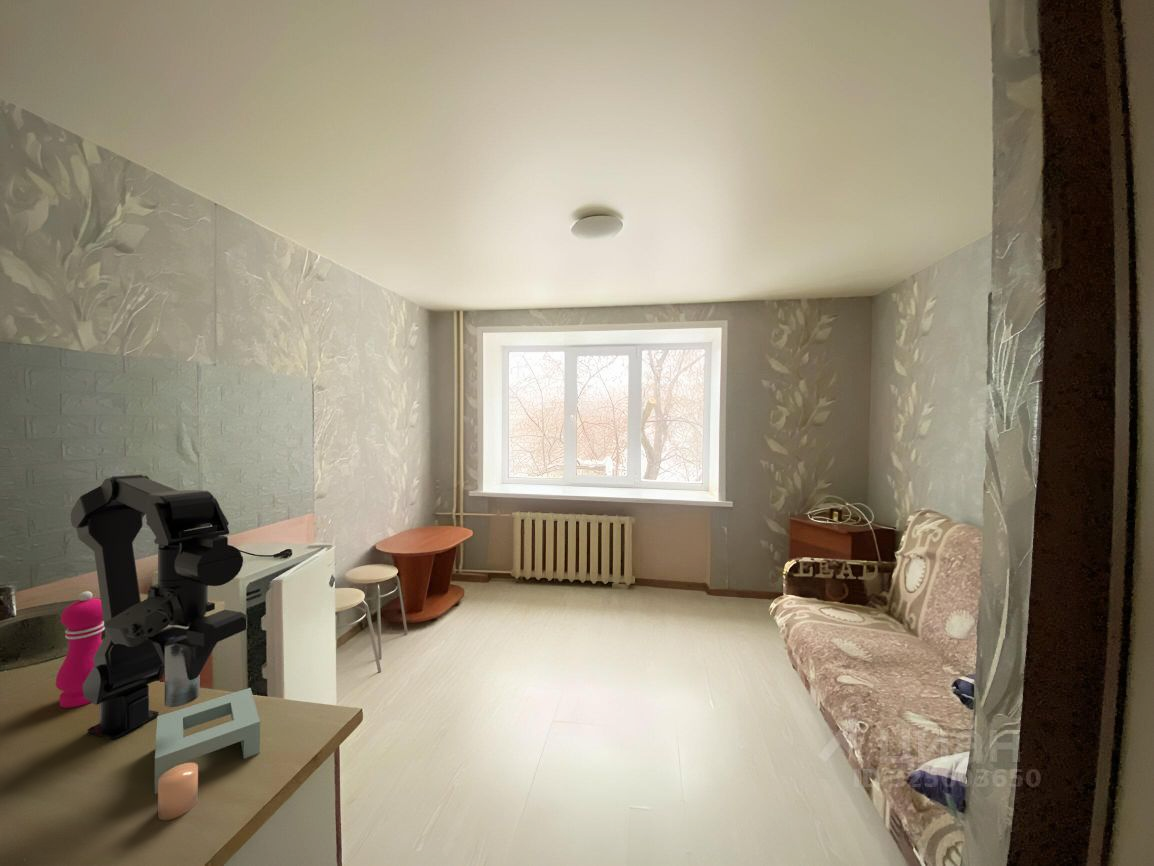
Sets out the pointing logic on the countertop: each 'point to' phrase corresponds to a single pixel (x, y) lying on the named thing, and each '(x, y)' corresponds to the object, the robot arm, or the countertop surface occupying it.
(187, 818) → the countertop surface
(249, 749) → the slate pin jig
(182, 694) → the steel pin
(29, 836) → the countertop surface
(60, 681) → the pepper mill
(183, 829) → the countertop surface
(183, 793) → the terracotta stub
